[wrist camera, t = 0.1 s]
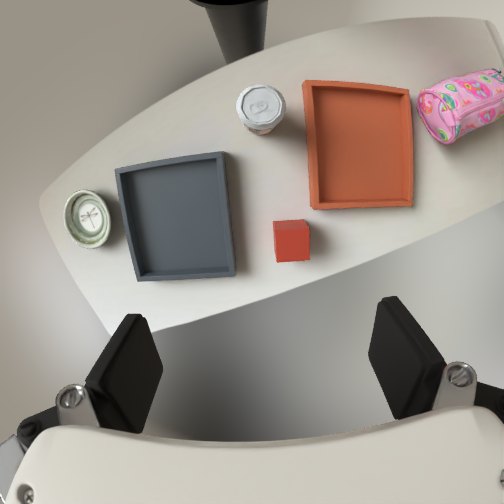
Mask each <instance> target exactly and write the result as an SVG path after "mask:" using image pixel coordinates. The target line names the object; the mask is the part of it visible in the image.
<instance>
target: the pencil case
mask: <svg viewBox="0 0 504 504" xmlns="http://www.w3.org/2000/svg"><path fill="white" fill-rule="evenodd" d="M499 73H501V71H498V70H496V69H486V70H483V71H477V72H473V73H470V74H466V75H463V76H458V77H453V78H449V79H445V80H443V81H441V82H439V83H437V84H436V85H434V86H432V87H431V88H430V89H424V90H422V91H421V92H420V93H419V94H418V97H417V111H418V113H419V115H420V117H421V119H422V120H423V122H424V124H425V126H426V128H427V129H428V131H429V132H430V133H431V135H432V136H433V137H434V138H435V139H436V140H437V141H439V142H440V143H442V144H446V145H450V144H452V143H453V142H454V141H455V140H457V139H458V138H460V137H462V136H464V135H466V134H469V133H470V132H472V131H473V130H475V129H477V128H479V127H482V126H485V125H487V124H490V123H492V122H494V121H497V120H498V119H499V118H500V117H503V116H504V77H503V76H502V75H501V74H499Z"/></svg>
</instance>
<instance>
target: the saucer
mask: <svg viewBox="0 0 504 504" xmlns="http://www.w3.org/2000/svg"><path fill="white" fill-rule="evenodd" d="M64 223H65V227H66V230H67V232H68V234H69V236H70V237H71V238H72V240H73V241H74V242H75V243H77V244H78V245H79V246H81V247H84V248H87V249H94V248H98V247H100V246H101V245H103V244H104V243H105V242H106V240H107V239H108V237H109V234H110V231H111V215H110V212H109V209H108V207H107V205H106V203H105V201H104V200H103V199H102V198H101V197H100V196H99V195H98V194H97V193H95V192H93V191H90V190H79V191H77V192H75V193H74V194H72V195H71V196H70V197H69V199H68V200H67V202H66V205H65V208H64Z"/></svg>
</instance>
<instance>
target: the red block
mask: <svg viewBox="0 0 504 504" xmlns="http://www.w3.org/2000/svg"><path fill="white" fill-rule="evenodd" d="M273 231H274V247H275V255H276V261H277V262H291V261H304V260H310V229H309V227H308V225H307V224H306V222H305V221H304V219H302V220H287V221H273Z"/></svg>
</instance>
